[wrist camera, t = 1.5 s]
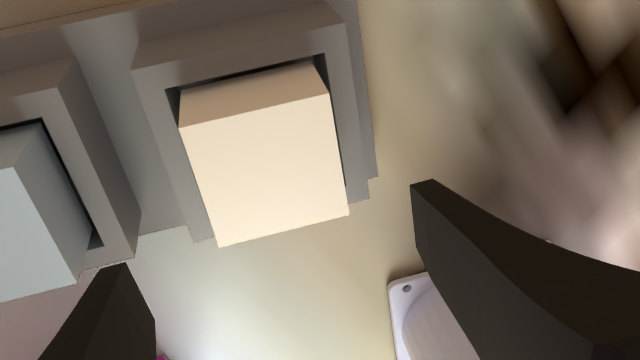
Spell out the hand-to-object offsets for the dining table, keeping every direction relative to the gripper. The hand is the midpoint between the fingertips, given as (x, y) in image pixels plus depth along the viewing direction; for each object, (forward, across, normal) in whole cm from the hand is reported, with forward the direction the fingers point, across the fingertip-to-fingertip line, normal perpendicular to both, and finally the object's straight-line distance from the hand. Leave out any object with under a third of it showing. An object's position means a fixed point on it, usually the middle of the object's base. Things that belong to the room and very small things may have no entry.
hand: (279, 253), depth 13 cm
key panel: (+10, +4, 0) cm, 11 cm away
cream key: (+7, 0, 0) cm, 7 cm away
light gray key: (+7, +9, 0) cm, 11 cm away
